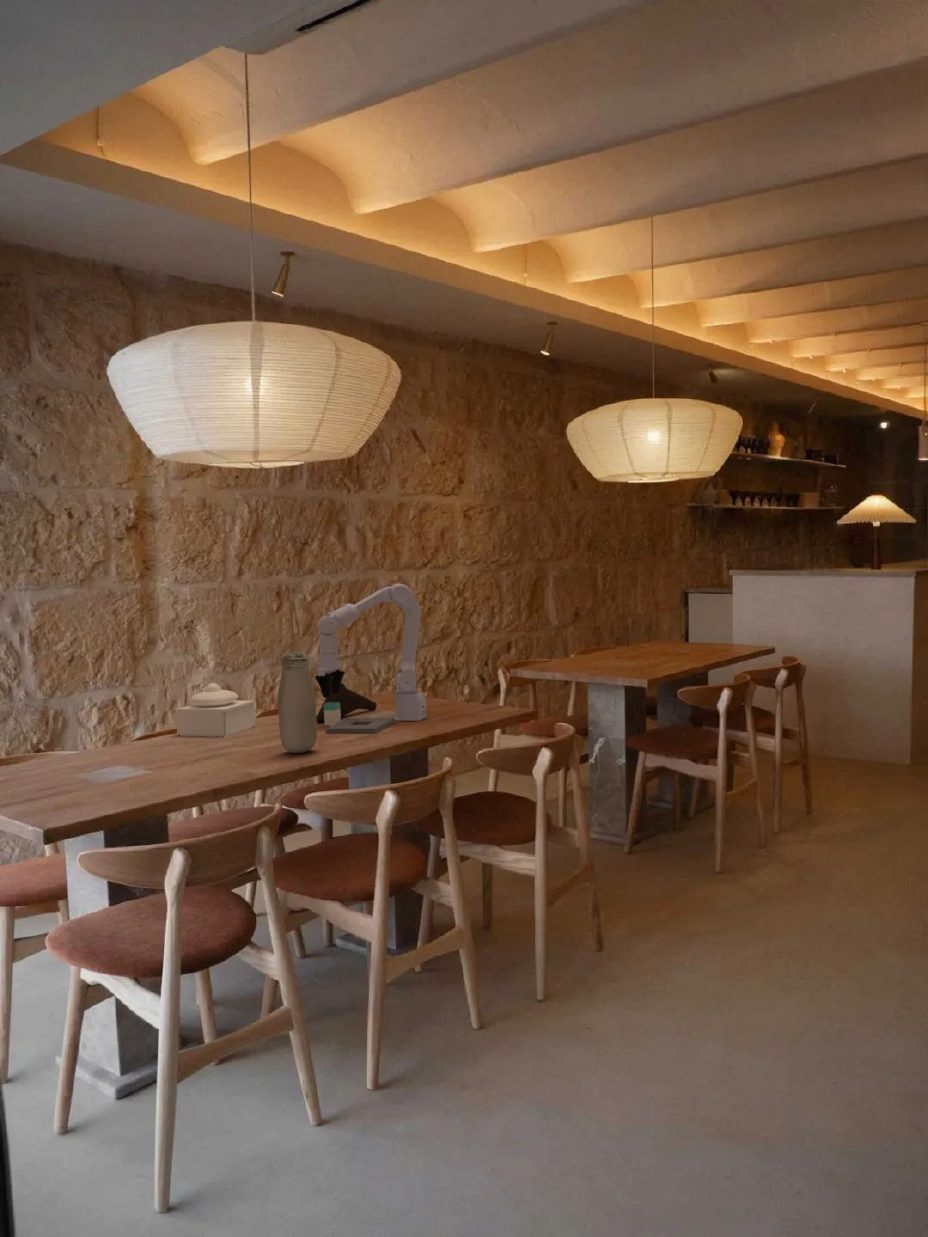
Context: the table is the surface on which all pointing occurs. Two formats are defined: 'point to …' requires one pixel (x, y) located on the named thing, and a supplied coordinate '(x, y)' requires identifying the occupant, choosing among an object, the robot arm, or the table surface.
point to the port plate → (361, 725)
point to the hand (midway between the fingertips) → (331, 695)
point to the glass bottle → (297, 704)
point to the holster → (347, 702)
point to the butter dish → (215, 714)
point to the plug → (332, 713)
